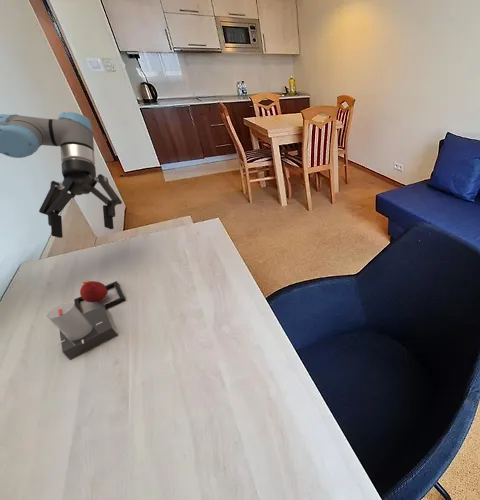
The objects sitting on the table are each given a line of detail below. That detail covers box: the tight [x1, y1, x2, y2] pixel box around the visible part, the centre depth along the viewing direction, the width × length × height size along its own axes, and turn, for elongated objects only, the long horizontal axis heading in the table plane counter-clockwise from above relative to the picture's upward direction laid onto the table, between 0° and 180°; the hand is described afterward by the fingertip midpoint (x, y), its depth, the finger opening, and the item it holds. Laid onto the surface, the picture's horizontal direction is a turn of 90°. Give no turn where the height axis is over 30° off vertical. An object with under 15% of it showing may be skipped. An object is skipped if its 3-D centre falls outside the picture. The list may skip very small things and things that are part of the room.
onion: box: [79, 280, 108, 303], centre depth 86 cm, size 6×6×8 cm
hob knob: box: [46, 301, 93, 341], centre depth 72 cm, size 5×5×8 cm
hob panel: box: [56, 304, 119, 361], centre depth 77 cm, size 13×11×3 cm
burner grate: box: [73, 280, 127, 314], centre depth 88 cm, size 11×11×1 cm
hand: (83, 232), depth 86 cm, fingers open, 13 cm apart
